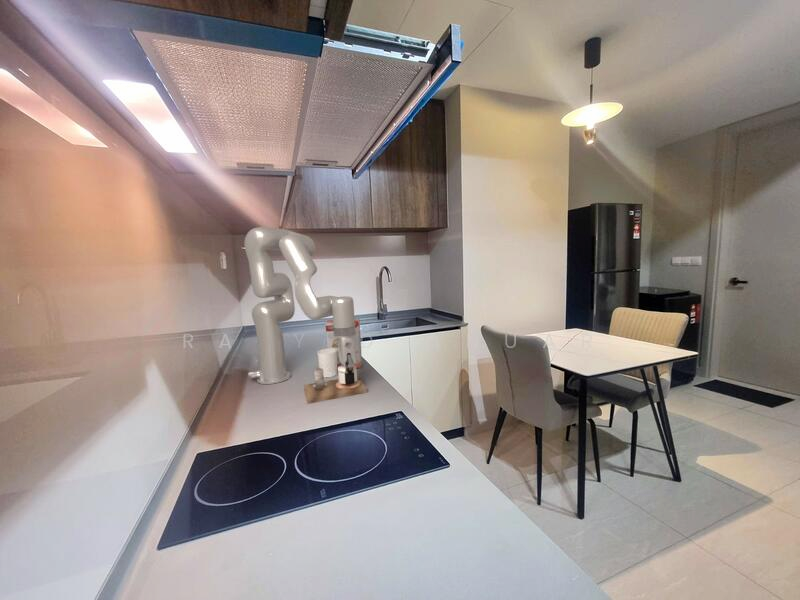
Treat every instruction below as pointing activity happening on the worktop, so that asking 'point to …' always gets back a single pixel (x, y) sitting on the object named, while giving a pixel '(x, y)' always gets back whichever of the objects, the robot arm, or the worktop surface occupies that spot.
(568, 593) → the worktop surface
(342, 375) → the cap
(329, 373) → the white cup
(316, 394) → the post board
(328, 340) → the cracker box
